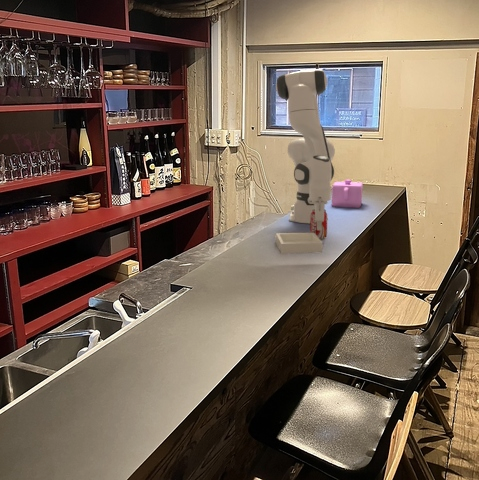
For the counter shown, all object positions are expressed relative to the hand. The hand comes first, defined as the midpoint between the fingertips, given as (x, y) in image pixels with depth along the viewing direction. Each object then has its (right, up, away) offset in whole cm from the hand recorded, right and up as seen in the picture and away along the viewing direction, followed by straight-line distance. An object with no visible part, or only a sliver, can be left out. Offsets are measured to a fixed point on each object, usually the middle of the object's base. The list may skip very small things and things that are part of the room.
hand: (318, 227), depth 225 cm
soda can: (0, -5, +1) cm, 5 cm away
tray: (-10, -8, -12) cm, 18 cm away
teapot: (+26, +14, +72) cm, 78 cm away
